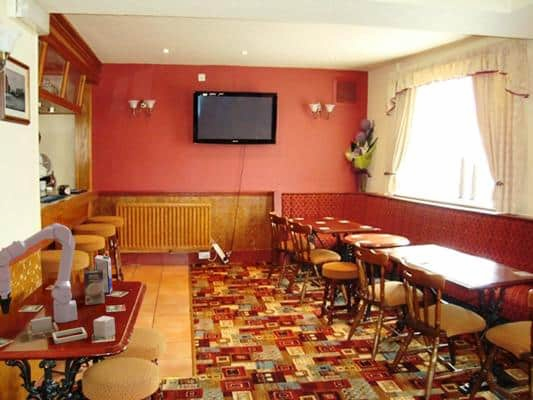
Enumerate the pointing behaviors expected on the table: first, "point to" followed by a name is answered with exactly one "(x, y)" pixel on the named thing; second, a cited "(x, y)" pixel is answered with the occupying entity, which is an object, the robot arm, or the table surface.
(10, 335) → the table surface
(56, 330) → the rack
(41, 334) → the offcut
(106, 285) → the milk carton
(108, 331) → the skincare box
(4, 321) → the table surface
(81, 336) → the tray
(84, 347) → the table surface
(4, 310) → the robot arm
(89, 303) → the coffee box
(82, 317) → the table surface
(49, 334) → the offcut
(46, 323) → the block
